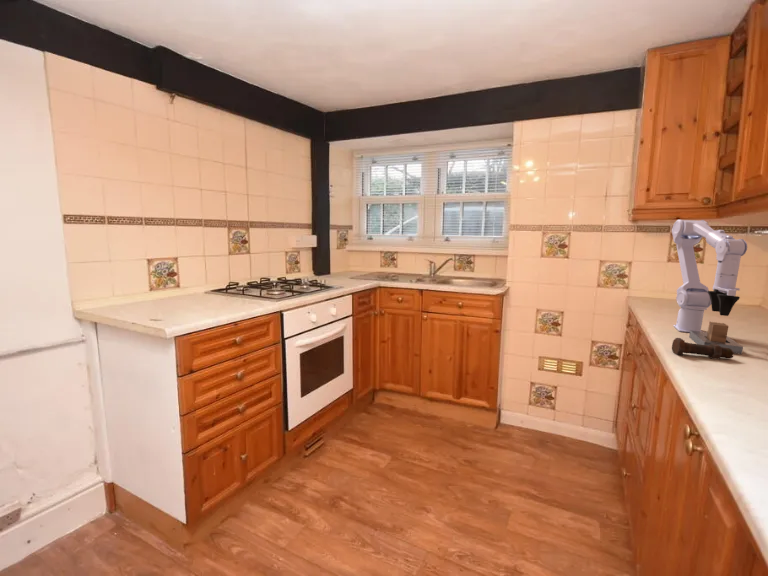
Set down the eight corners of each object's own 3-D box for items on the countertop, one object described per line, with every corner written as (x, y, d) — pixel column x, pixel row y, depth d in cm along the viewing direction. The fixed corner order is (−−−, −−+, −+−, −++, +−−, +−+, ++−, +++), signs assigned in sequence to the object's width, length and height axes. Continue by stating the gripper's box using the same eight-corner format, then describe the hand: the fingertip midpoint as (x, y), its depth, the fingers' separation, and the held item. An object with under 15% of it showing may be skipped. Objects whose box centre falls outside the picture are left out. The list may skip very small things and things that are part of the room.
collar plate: (689, 336, 146) (690, 330, 145) (723, 341, 142) (724, 334, 141) (703, 349, 131) (704, 342, 131) (741, 354, 127) (743, 346, 127)
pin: (705, 344, 137) (709, 321, 136) (719, 346, 136) (724, 323, 134) (709, 347, 134) (713, 324, 132) (724, 349, 132) (728, 326, 131)
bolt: (730, 366, 122) (674, 358, 126) (724, 353, 126) (669, 346, 130) (739, 353, 118) (681, 345, 122) (733, 341, 122) (676, 334, 126)
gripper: (750, 277, 128) (743, 318, 130) (732, 273, 141) (726, 310, 143) (723, 275, 131) (716, 316, 133) (708, 271, 144) (702, 308, 146)
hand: (719, 313), depth 138 cm, fingers open, 7 cm apart
